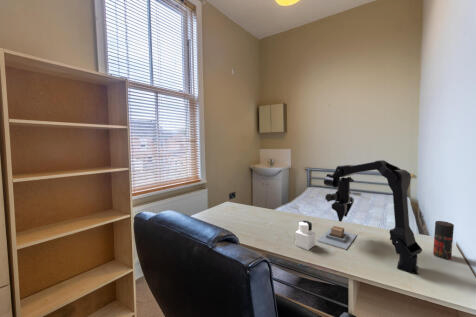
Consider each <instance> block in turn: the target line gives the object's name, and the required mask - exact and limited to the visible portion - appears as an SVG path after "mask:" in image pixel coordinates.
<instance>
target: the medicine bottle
mask: <svg viewBox="0 0 476 317" xmlns="http://www.w3.org/2000/svg"><path fill="white" fill-rule="evenodd" d="M312 229H313V224H312V222H311V221H309V220H300V221H299V222H298V230H296V231H295V232H294V233H295V234H294V236H295V238H294V242H295V243H294V244H295V246H297V247H299V248H301V249H304V250H307V251H309V250H310V249H311V248H313V247H314V246H316V231H314V230H312Z"/></svg>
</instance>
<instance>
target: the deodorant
mask: <svg viewBox="0 0 476 317" xmlns="http://www.w3.org/2000/svg"><path fill="white" fill-rule="evenodd" d="M454 228H455V224H453V223H452V222H448V221H445V220H435V223H434V234H433V235H434V237H433V238H434V239H433V249H432V251H433V252H432V254H433V256H435V257H436V258H439V259H441V260H449V261H450V260H452V253H453V242H454Z"/></svg>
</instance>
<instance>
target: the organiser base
mask: <svg viewBox="0 0 476 317" xmlns="http://www.w3.org/2000/svg"><path fill="white" fill-rule="evenodd" d="M331 228H332V227H329V229H327V231H326V232H324V234H322V235H321V236H320V237H319V238H318V239H317V240H316V241H317V243H318V242H319V243H321V244H322V243H323V244H325V245H328V246H331V247H335V248H339V249H342V250H348V248H349V247H350V246H351V244H352V243H353V242H354V240H355V239H356V238H357V235H358V234H356V233H352V232H349V231H344V238H343V239H341V238H338V237H334V236H331Z"/></svg>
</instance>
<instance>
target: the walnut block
mask: <svg viewBox="0 0 476 317" xmlns="http://www.w3.org/2000/svg"><path fill="white" fill-rule="evenodd" d="M330 228H331V236H334V237H338V238H341V239H343V238H344V232H345V227H342V226H337V225H333V226H332V227H330Z"/></svg>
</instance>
